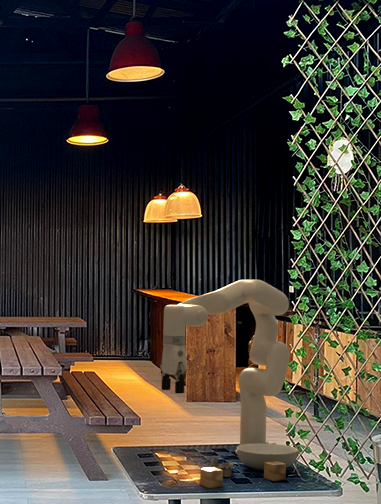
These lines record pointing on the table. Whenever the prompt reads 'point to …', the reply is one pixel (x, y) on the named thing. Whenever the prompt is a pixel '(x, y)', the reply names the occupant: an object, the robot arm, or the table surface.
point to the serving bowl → (266, 454)
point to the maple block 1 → (211, 477)
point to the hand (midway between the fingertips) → (172, 391)
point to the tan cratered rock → (222, 467)
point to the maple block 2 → (275, 470)
